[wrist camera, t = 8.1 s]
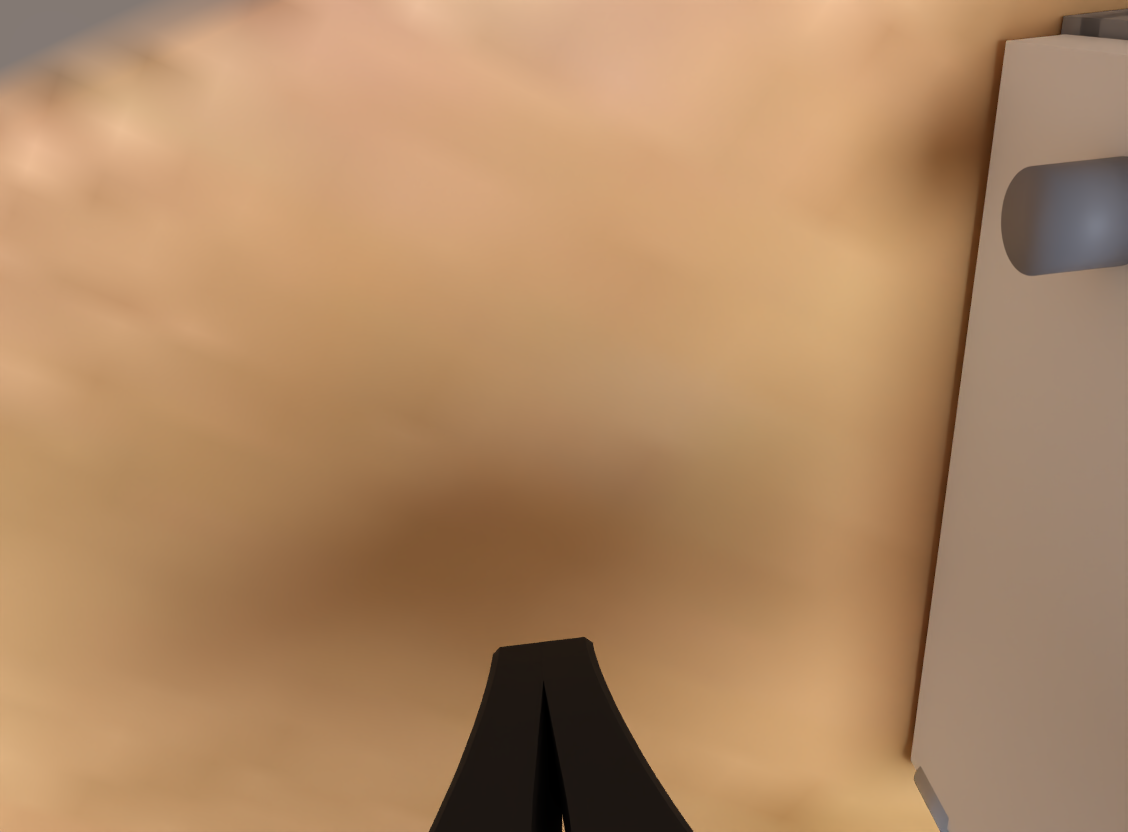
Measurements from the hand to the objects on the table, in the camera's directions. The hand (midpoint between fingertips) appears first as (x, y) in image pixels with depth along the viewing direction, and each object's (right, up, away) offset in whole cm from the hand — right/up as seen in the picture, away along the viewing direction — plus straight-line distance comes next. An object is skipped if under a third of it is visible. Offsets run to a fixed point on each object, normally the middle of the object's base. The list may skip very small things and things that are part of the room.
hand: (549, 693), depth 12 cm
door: (+7, +3, +2) cm, 8 cm away
